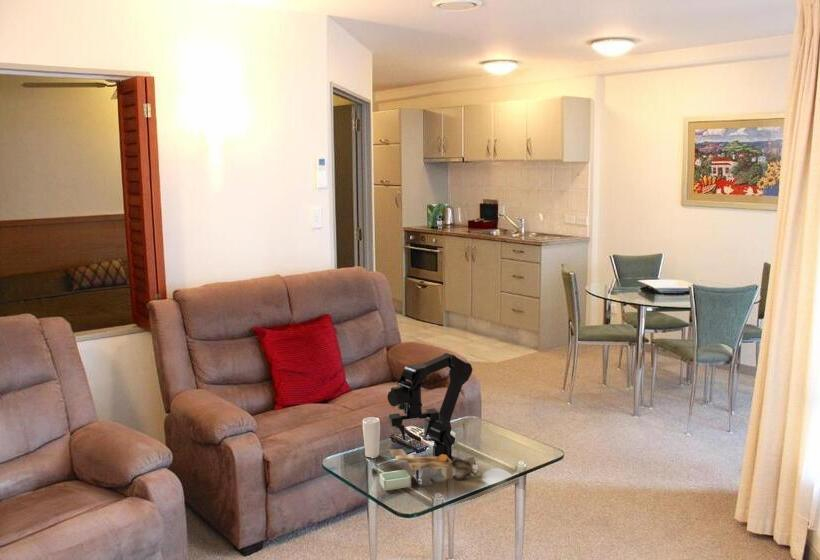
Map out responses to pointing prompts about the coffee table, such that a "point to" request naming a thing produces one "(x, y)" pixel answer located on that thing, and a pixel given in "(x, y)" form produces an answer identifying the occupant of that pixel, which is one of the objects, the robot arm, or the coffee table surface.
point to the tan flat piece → (420, 460)
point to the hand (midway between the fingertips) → (414, 438)
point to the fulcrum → (424, 475)
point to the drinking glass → (371, 436)
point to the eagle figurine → (466, 466)
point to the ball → (442, 458)
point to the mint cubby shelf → (395, 480)
